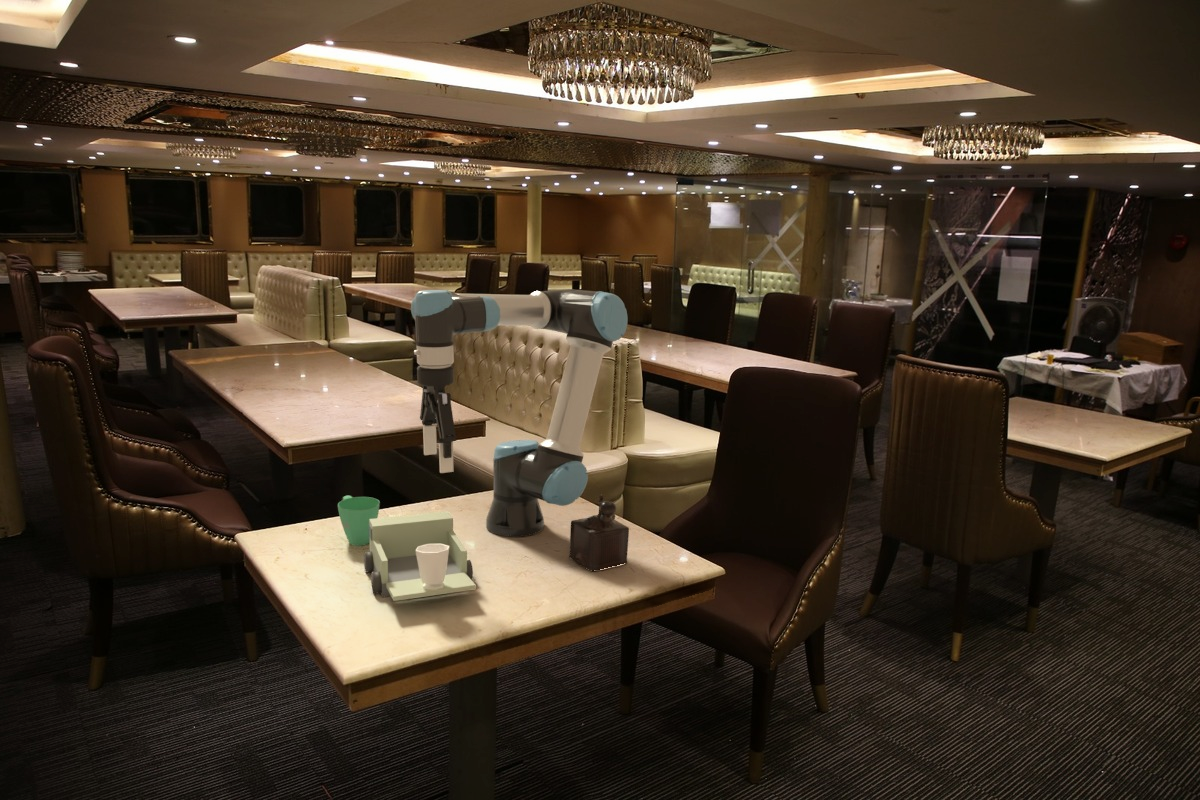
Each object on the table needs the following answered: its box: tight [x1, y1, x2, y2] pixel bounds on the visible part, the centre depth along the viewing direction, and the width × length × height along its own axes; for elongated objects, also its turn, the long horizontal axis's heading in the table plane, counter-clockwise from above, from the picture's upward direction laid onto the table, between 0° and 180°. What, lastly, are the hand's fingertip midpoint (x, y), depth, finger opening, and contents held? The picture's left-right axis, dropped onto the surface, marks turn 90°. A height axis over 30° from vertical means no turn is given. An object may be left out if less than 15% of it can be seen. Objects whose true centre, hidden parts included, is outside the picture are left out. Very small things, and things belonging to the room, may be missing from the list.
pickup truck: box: [363, 510, 474, 598], centre depth 174 cm, size 21×18×11 cm
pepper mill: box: [568, 494, 630, 572], centre depth 183 cm, size 16×11×18 cm
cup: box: [415, 544, 449, 590], centre depth 161 cm, size 7×10×8 cm
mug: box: [337, 495, 381, 547], centre depth 193 cm, size 15×10×10 cm
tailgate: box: [386, 572, 477, 602], centre depth 162 cm, size 17×1×9 cm
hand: (438, 462), depth 168 cm, fingers open, 13 cm apart
